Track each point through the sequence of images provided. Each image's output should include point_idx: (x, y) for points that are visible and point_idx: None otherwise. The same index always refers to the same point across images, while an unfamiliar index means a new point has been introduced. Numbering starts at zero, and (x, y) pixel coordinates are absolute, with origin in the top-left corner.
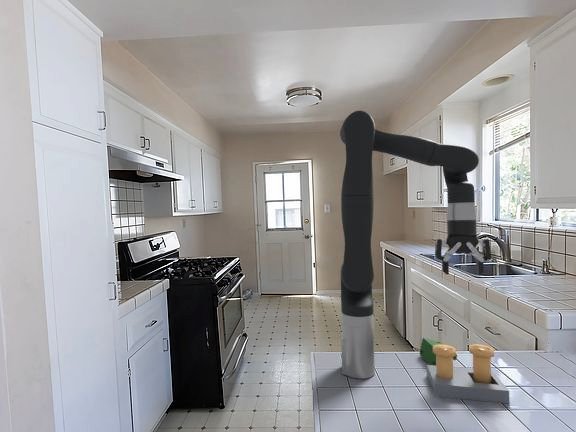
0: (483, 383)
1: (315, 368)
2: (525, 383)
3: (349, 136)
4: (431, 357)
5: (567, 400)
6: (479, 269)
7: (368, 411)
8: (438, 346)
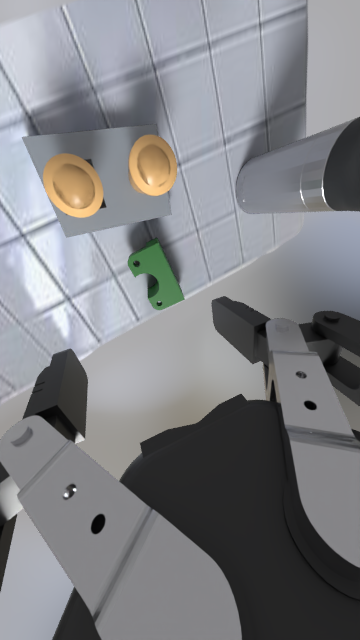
0: None
1: None
2: (13, 252)
3: None
4: (165, 256)
5: None
6: (59, 368)
7: (243, 24)
8: (165, 177)
